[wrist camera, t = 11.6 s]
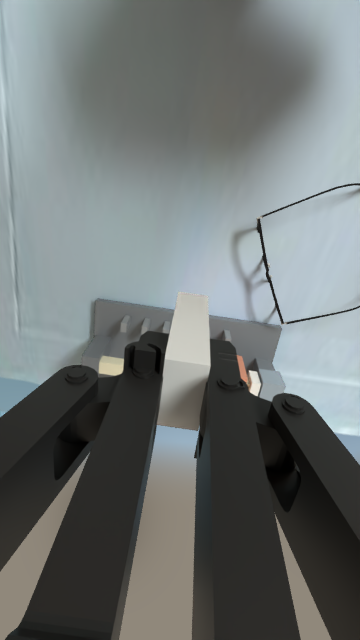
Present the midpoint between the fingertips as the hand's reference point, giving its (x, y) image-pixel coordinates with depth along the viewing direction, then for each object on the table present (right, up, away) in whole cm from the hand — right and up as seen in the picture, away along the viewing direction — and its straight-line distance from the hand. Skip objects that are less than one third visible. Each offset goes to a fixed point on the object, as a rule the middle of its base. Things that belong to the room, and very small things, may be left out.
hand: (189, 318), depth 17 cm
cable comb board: (0, -5, +36) cm, 36 cm away
